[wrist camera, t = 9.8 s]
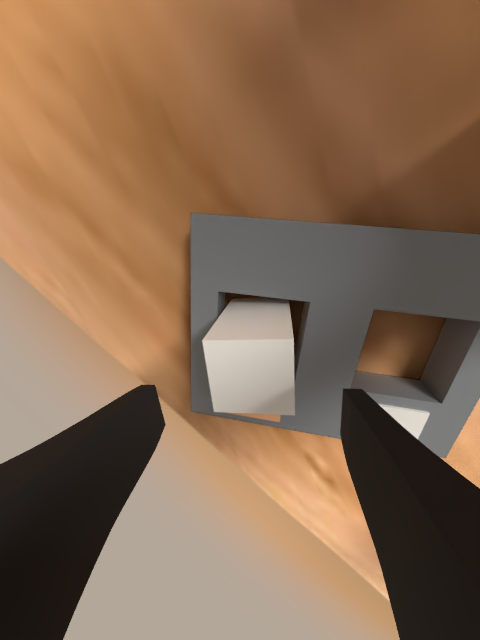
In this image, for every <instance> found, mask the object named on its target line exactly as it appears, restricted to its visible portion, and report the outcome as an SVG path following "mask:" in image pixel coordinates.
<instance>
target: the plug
mask: <svg viewBox="0 0 480 640" xmlns="http://www.w3.org/2000/svg"><path fill="white" fill-rule="evenodd" d="M202 343H203V349H204V355H205V361H206V367H207V373H208V379H209V385H210V391H211V397H212V403H213V410H214V412H226V413H249V414H272V415H295V386H294V337H293V329H292V321H291V313H290V306H289V299H280V298H271V297H258V298H238V299H232V300H231V301H230V302H229V304H228V305H227V307H226V308H225V309H224V311H223V312H222V314H221V315H220V316H219V318H218V319H217V320H216V322H215V323H214V325H213V326H212V327H211V329H210V330H209V332H208V333H207V334H206V336H205V337H204V339H203V340H202Z"/></svg>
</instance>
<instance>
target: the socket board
mask: <svg viewBox="0 0 480 640" xmlns="http://www.w3.org/2000/svg"><path fill="white" fill-rule="evenodd" d="M226 292H228V293H237V294H245V295H254V296H263V297H271V298H280V299H289V300H297V301H304V305H303V310H302V316H301V321H300V327H299V332H298V338H297V343H296V348H295V354H294V386H295V415H272V414H249V413H226V412H214V410H213V403H212V397H211V391H210V385H209V379H208V373H207V367H206V361H205V355H204V349H203V343H202V340H203V339H204V337H205V336H206V334H207V333H208V332H209V330H210V329H211V327H212V326H213V325H214V323H215V322H216V320H217V319H218V318H219V316H220V315H221V314H222V312H223V311H224V309H225V308H226ZM374 309H376V310H384V311H393V312H402V313H410V314H419V315H428V316H437V317H445V318H446V320H445V322H444V325H443V327H442V329H441V332H440V334H439V336H438V339H437V341H436V343H435V345H434V348H433V350H432V352H431V355H430V357H429V359H428V362H427V364H426V366H425V369H424V371H423V373H422V376H421V378H420V380H416V379H409V378H402V377H395V376H389V375H382V374H375V373H368V372H361V371H355V370H356V367H357V364H358V360H359V357H360V354H361V351H362V347H363V344H364V341H365V337H366V334H367V331H368V327H369V324H370V321H371V318H372V314H373V311H374ZM343 388H346V389H363V390H364V391H365V392H366V393H367V394H368V395H369V396H370V397H371V398H372V399H373V400H374V401H376V402H377V403H378V404H379V405H380V406H381V407H382V408H383V409H384V410H385V411H386V412H387V413H388V414H390V415H391V416H392V417H393V418H394V419H395V420H396V421H397V422H398V423H399V424H401V425H402V426H403V427H404V428H405V429H406V430H407V431H409V432H410V433H411V434H412V435H413V436H414V437H415V438H417V439H418V440H419V441H420V442H421V443H423V444H424V445H425V446H426V447H427V448H428V449H430V450H431V451H432V452H433V453H435V454H436V455H437V456H438V457H442V458H446V457H447V455H448V453H449V451H450V449H451V448H452V446H453V444H454V442H455V441H456V439H457V437H458V435H459V433H460V432H461V430H462V428H463V426H464V425H465V423H466V421H467V419H468V417H469V416H470V414H471V412H472V410H473V409H474V407H475V405H476V403H477V401H478V400H479V398H480V234H470V233H457V232H443V231H429V230H416V229H402V228H389V227H375V226H362V225H348V224H335V223H321V222H307V221H294V220H280V219H267V218H253V217H240V216H226V215H213V214H199V213H191V412H196V413H201V414H207V415H212V416H218V417H223V418H229V419H234V420H240V421H245V422H250V423H256V424H261V425H267V426H272V427H278V428H283V429H289V430H294V431H300V432H305V433H311V434H316V435H322V436H327V437H333V438H338V439H341V436H340V427H341V411H342V396H343Z"/></svg>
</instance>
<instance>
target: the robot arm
mask: <svg viewBox="0 0 480 640" xmlns="http://www.w3.org/2000/svg"><path fill="white" fill-rule="evenodd" d="M164 427H165V421H164V417H163V414H162V410H161V406H160V403H159V399H158V395H157V391H156V387H155V385H141V386H139V387H136V388H135V389H133V390H131V391H130V392H128V393H126V394H124V395H123V396H121V397H119V398H118V399H116V400H114V401H113V402H111V403H109V404H108V405H106V406H104V407H103V408H101V409H100V410H98V411H96V412H95V413H93V414H91V415H90V416H89V417H87V418H85V419H83V420H82V421H80V422H78V423H76V424H75V425H73V426H71V427H69V428H68V429H66V430H64V431H62V432H61V433H59V434H57V435H55V436H54V437H52V438H50V439H48V440H47V441H45V442H43V443H41V444H39V445H37V446H35V447H34V448H32V449H30V450H28V451H26V452H24V453H22V454H20V455H18V456H16V457H14V458H12V459H10V460H8V461H6V462H4V463H2V464H0V640H63V638H64V635H65V633H66V631H67V628H68V626H69V623H70V621H71V619H72V616H73V614H74V611H75V609H76V607H77V604H78V602H79V600H80V597H81V595H82V593H83V591H84V588H85V586H86V584H87V581H88V579H89V577H90V575H91V572H92V570H93V568H94V565H95V563H96V561H97V559H98V557H99V555H100V552H101V550H102V548H103V546H104V544H105V542H106V540H107V537H108V535H109V533H110V531H111V529H112V527H113V525H114V523H115V521H116V519H117V517H118V516H119V514H120V512H121V510H122V508H123V506H124V505H125V503H126V501H127V499H128V498H129V496H130V494H131V492H132V491H133V489H134V487H135V485H136V483H137V482H138V480H139V478H140V476H141V475H142V473H143V471H144V469H145V467H146V466H147V464H148V462H149V460H150V458H151V456H152V455H153V453H154V451H155V449H156V446H157V444H158V442H159V440H160V437H161V434H162V432H163V429H164ZM340 436H341V440H342V445H343V449H344V454H345V458H346V462H347V466H348V469H349V472H350V475H351V478H352V481H353V484H354V487H355V490H356V493H357V496H358V499H359V502H360V505H361V507H362V510H363V513H364V516H365V519H366V522H367V525H368V528H369V531H370V534H371V537H372V540H373V543H374V546H375V549H376V552H377V555H378V559H379V562H380V565H381V568H382V572H383V576H384V580H385V584H386V587H387V591H388V595H389V599H390V603H391V607H392V610H393V614H394V618H395V622H396V626H397V630H398V634H399V638H400V640H480V489H479V488H478V487H477V486H475V485H474V484H473V483H471V482H470V481H469V480H467V479H466V478H465V477H464V476H462V475H461V474H460V473H458V472H457V471H456V470H455V469H453V468H452V467H451V466H450V465H448V464H447V463H446V462H445V461H443V460H442V459H441V458H440V457H438V456H437V455H436V454H435V453H433V452H432V451H431V450H430V449H428V448H427V447H426V446H425V445H424V444H423V443H421V442H420V441H419V440H418V439H417V438H415V437H414V436H413V435H412V434H411V433H410V432H409V431H407V430H406V429H405V428H404V427H403V426H402V425H401V424H399V423H398V422H397V421H396V420H395V419H394V418H393V417H392V416H391V415H390V414H388V413H387V412H386V411H385V410H384V409H383V408H382V407H381V406H380V405H379V404H378V403H377V402H376V401H374V400H373V399H372V398H371V397H370V396H369V395H368V394H367V393H366V392H365V391H364V390H363V389H346V388H343V396H342V411H341V427H340Z"/></svg>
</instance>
